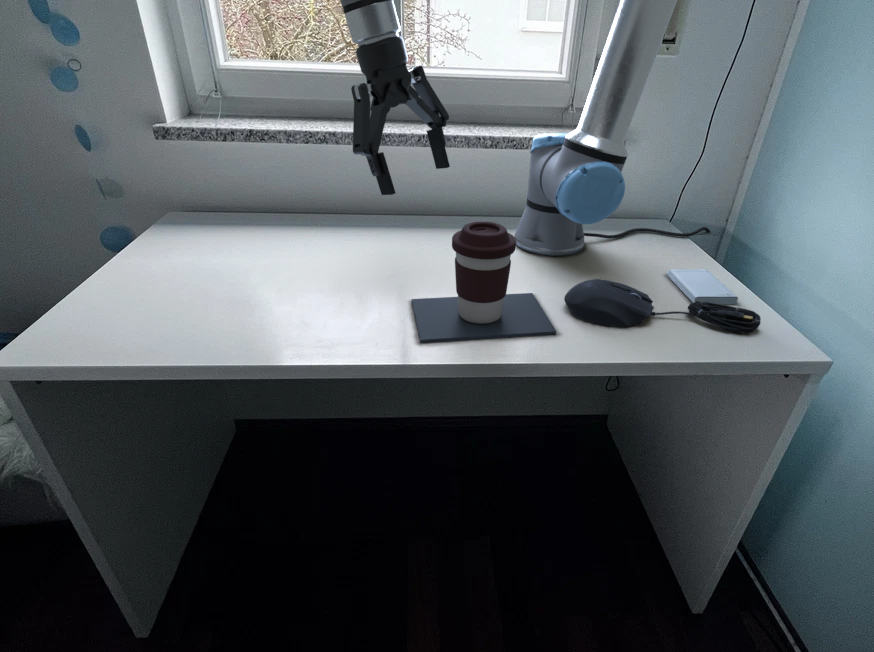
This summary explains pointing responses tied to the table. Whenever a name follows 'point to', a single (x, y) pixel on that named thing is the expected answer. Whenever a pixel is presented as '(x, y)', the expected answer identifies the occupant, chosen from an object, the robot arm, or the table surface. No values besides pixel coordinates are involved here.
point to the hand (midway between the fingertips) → (417, 180)
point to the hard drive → (702, 286)
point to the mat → (446, 324)
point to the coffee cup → (482, 270)
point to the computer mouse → (646, 307)
